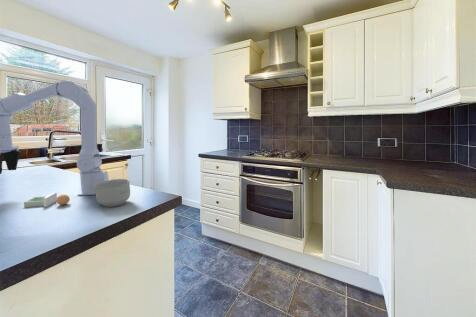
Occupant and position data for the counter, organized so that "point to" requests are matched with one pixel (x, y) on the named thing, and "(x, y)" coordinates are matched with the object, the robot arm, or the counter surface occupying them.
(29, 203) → the tray
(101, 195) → the teacup
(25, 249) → the counter surface
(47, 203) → the wall
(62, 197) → the ball
